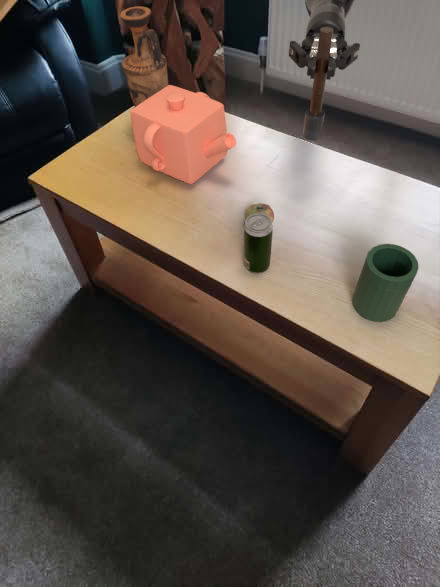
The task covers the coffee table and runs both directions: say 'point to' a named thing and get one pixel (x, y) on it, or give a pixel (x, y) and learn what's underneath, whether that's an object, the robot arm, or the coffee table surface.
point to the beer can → (257, 243)
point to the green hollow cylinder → (384, 282)
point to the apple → (259, 211)
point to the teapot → (181, 133)
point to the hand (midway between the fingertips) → (321, 73)
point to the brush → (318, 88)
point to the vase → (143, 57)
